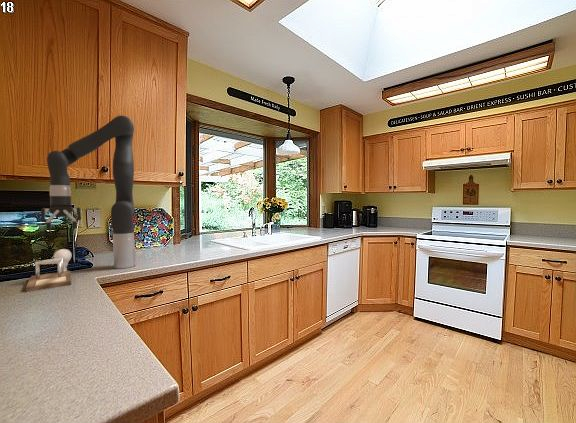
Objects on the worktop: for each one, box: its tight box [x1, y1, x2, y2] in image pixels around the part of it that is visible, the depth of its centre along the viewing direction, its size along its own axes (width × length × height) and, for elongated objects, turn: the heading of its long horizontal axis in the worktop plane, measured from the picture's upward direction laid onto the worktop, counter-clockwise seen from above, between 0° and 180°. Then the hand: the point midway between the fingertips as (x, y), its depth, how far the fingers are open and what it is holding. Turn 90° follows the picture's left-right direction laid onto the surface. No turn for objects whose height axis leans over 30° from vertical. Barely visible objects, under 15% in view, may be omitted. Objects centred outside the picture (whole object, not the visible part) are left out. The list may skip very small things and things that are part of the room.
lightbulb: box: [53, 248, 73, 272], centre depth 127 cm, size 6×6×11 cm
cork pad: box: [35, 276, 66, 286], centre depth 108 cm, size 9×7×1 cm
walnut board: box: [25, 270, 72, 292], centre depth 112 cm, size 13×20×2 cm, turn 39°
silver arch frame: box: [34, 257, 64, 279], centre depth 115 cm, size 9×9×7 cm
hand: (62, 230), depth 126 cm, fingers open, 8 cm apart
